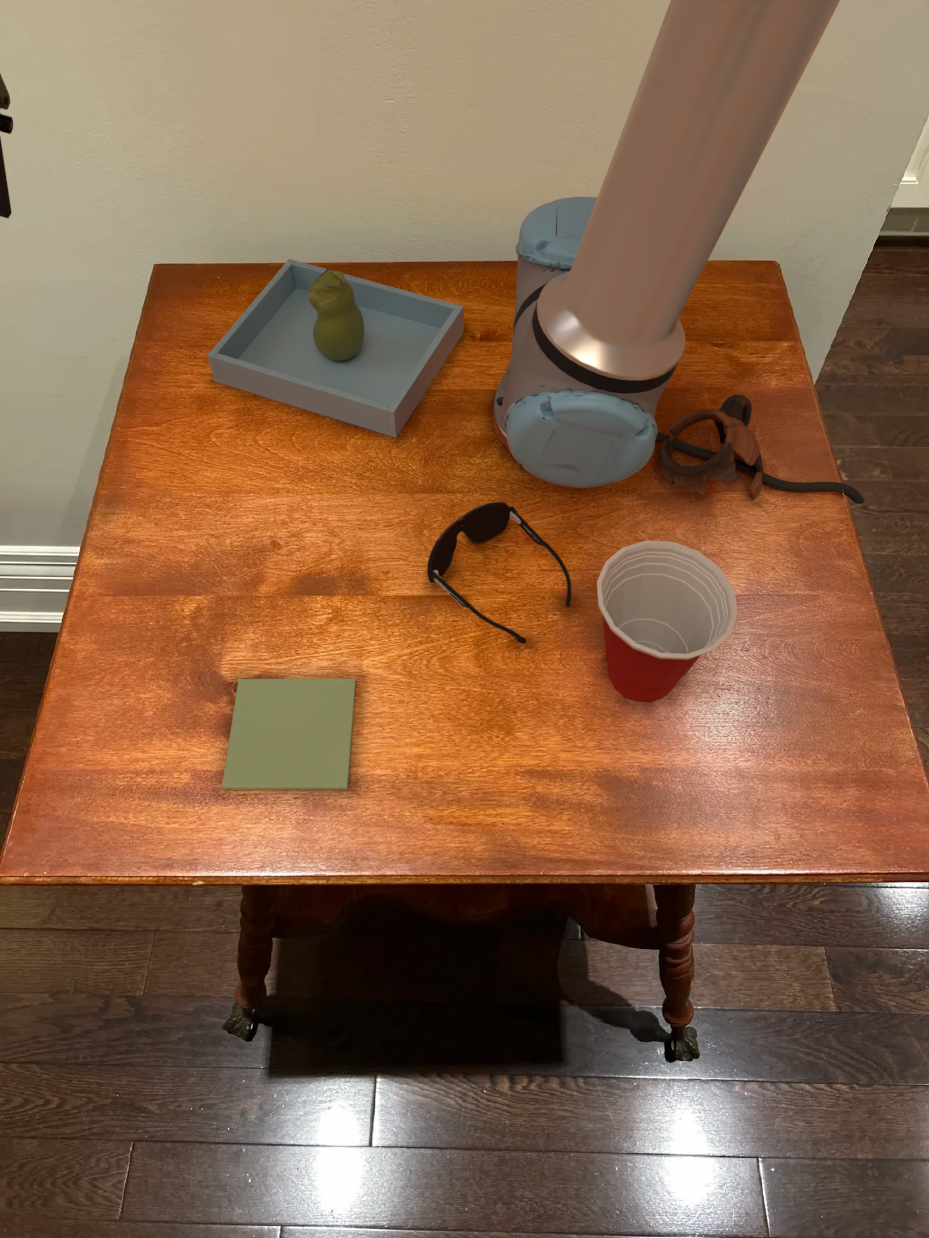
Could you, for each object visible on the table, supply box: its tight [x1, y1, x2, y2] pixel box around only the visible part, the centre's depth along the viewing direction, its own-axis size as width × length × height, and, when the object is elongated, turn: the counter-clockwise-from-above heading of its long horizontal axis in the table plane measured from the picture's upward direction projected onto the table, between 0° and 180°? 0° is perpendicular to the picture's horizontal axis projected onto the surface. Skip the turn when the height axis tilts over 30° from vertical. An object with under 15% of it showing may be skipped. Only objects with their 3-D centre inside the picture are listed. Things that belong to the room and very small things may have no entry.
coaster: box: [221, 678, 357, 791], centre depth 79 cm, size 10×10×1 cm
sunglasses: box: [426, 501, 572, 644], centre depth 85 cm, size 10×12×5 cm
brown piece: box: [659, 394, 764, 501], centre depth 93 cm, size 12×10×8 cm
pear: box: [309, 268, 364, 361], centre depth 100 cm, size 6×5×10 cm
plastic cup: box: [596, 540, 739, 703], centre depth 77 cm, size 11×11×12 cm
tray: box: [207, 258, 465, 439], centre depth 103 cm, size 22×18×4 cm
